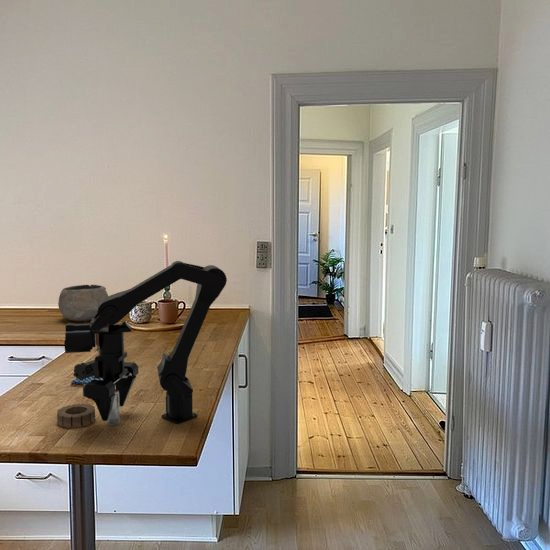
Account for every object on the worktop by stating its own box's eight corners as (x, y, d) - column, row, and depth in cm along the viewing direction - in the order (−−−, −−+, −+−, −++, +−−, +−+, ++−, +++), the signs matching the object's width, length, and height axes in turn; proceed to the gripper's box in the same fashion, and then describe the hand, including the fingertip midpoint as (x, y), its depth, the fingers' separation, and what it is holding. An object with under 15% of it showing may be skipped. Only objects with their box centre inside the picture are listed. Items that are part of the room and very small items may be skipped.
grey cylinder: (122, 423, 134) (121, 391, 133) (111, 426, 132) (110, 394, 131) (115, 419, 136) (114, 388, 135) (104, 423, 134) (103, 391, 133)
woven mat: (119, 379, 168) (119, 372, 168) (102, 390, 158) (102, 383, 157) (87, 376, 170) (87, 370, 169) (68, 388, 159) (68, 381, 159)
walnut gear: (102, 419, 136) (101, 409, 135) (69, 430, 129) (69, 420, 129) (82, 411, 141) (82, 401, 141) (50, 421, 135) (50, 410, 134)
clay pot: (55, 326, 231) (54, 291, 229) (62, 316, 251) (61, 283, 249) (108, 324, 236) (107, 289, 234) (111, 314, 256) (110, 282, 254)
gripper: (96, 338, 142) (98, 397, 144) (59, 359, 123) (62, 426, 125) (138, 341, 140) (139, 400, 142) (107, 362, 122) (109, 429, 124)
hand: (113, 413), depth 134 cm, fingers open, 9 cm apart
